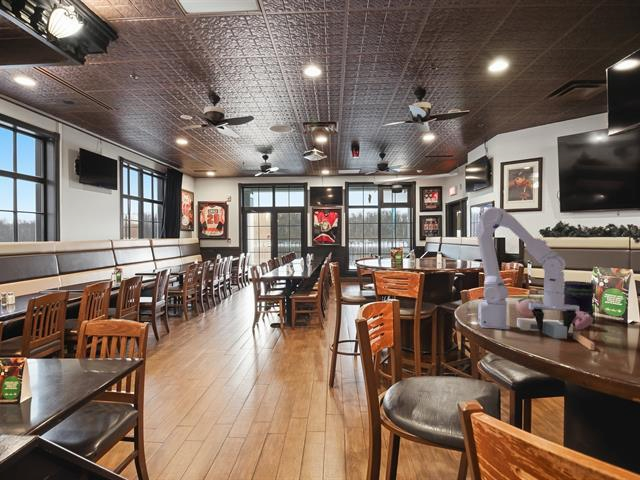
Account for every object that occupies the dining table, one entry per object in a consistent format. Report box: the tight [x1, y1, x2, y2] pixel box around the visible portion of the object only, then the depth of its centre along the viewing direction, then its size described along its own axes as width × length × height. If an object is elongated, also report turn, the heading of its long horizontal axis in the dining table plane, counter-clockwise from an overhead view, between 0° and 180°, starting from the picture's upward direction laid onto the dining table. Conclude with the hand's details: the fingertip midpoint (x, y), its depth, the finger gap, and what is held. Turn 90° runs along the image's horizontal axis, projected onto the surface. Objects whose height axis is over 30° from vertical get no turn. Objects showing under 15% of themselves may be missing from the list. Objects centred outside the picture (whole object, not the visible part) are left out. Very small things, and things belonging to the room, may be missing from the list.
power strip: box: [516, 317, 574, 334], centre depth 128 cm, size 16×6×3 cm, turn 76°
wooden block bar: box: [572, 330, 595, 351], centre depth 111 cm, size 12×2×2 cm, turn 164°
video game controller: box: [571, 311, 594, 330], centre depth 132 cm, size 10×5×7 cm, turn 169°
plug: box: [541, 321, 568, 339], centre depth 121 cm, size 5×7×4 cm
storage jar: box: [564, 280, 595, 319], centre depth 144 cm, size 10×10×15 cm
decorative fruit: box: [515, 294, 542, 319], centre depth 143 cm, size 9×8×10 cm
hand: (552, 331), depth 120 cm, fingers open, 7 cm apart
